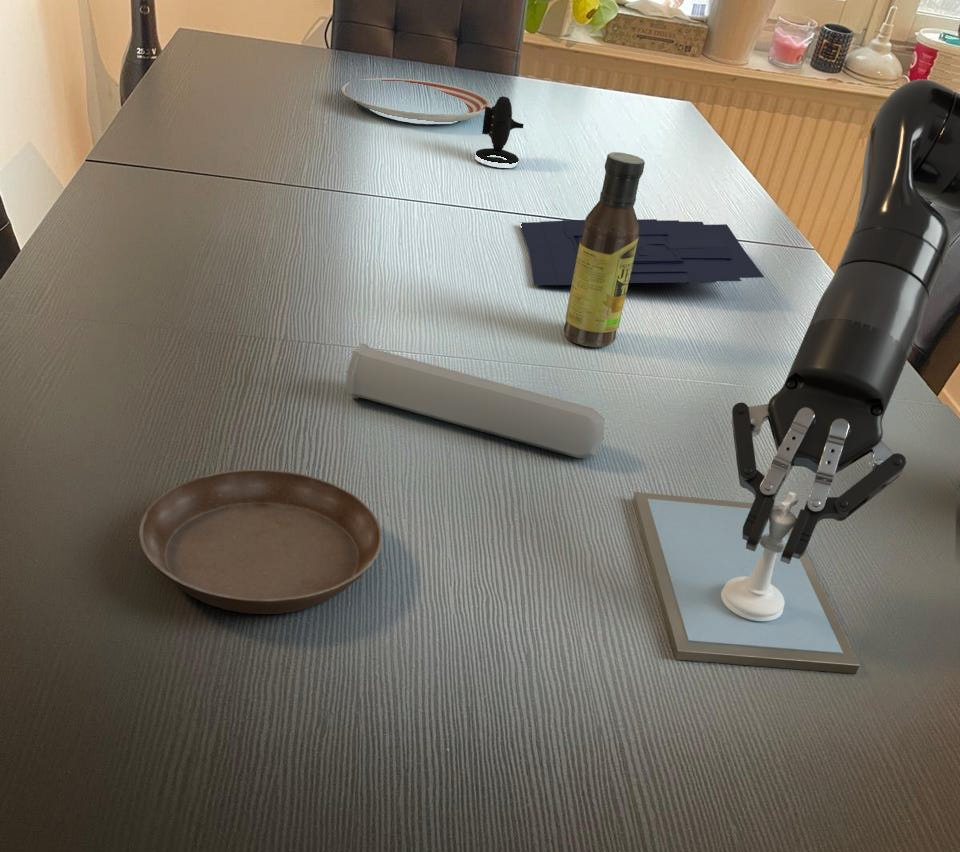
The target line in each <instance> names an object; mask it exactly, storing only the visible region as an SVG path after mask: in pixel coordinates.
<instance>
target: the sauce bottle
mask: <svg viewBox="0 0 960 852" xmlns="http://www.w3.org/2000/svg"><path fill="white" fill-rule="evenodd" d="M645 164H646V162H645V160H644V159H643V158H641V157H639V156H637V155H634V154H630V153H626V152H617V151H613V152H610V153H608V154H607V155H606V160H605V163H604V172H605V173H604V178H603V184H602V188H601V191H600V194H599V201H598V202H597V203H596V204H595V205H594V207H592V209H590V212H589V213H588V214H587V215H586V217H585V219H584V220H585V223H584V228H583V234H582V239H581V240H580V244H579V249H578V255H577V260H576V265H575V270H574V275H573V281H572V285H570V286H571V287H570V291H569V297H568V302H567V307H566V312H565V314H566V315H565V323H564V326H563V334H564V337H565V338H566V339H567V340H569V341H570V342H571V343H574V344H577V345H581V346H585V347H590V348H605V347H607V346H609V345H611V344H612V343H614V342H615V341H616V338H617V331H618V330H619V328H620V325H621V319H622V315H623V311H624V305H625V301H626V296H627V292H628V287H629V284H630V283H629V279H630V275H631V271H632V265H633V261H634V256H635V252H636V248H637V243H638V238H639V235H638V234H639V223H638V221H637V219H638V217H637V214H636V210H635V208H634V206H635V204H636V200H637V193H638V189H639V185H640V180H641V178H642V176H643V174H644V170H645Z"/></svg>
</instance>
